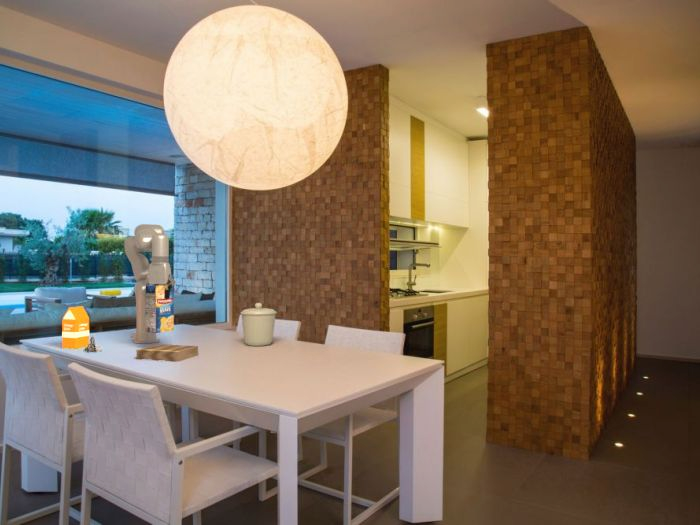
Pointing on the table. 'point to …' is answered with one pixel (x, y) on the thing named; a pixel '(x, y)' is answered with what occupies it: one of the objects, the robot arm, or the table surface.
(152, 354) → the tan flat block
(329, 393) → the table surface
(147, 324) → the beverage box
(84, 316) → the orange juice
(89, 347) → the house of cards
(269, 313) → the canister
